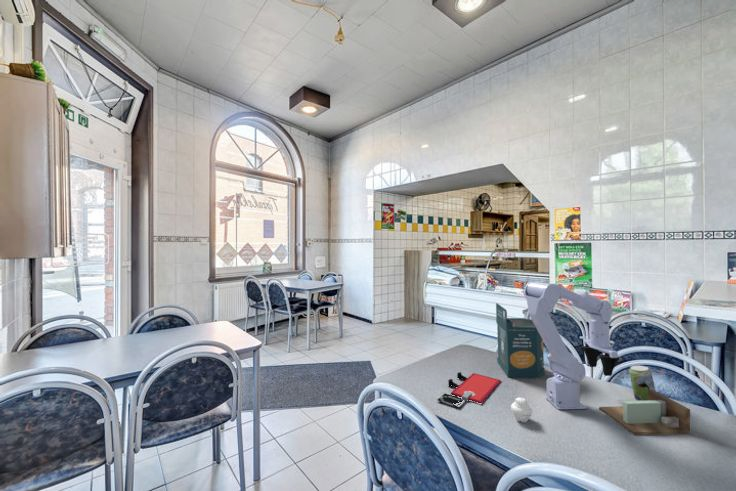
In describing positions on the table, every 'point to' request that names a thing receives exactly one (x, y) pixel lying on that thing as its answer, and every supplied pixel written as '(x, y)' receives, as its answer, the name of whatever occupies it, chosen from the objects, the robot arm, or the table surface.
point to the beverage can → (641, 382)
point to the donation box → (519, 346)
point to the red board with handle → (470, 389)
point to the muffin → (521, 409)
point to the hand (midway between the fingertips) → (600, 370)
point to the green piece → (644, 411)
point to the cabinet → (671, 424)
